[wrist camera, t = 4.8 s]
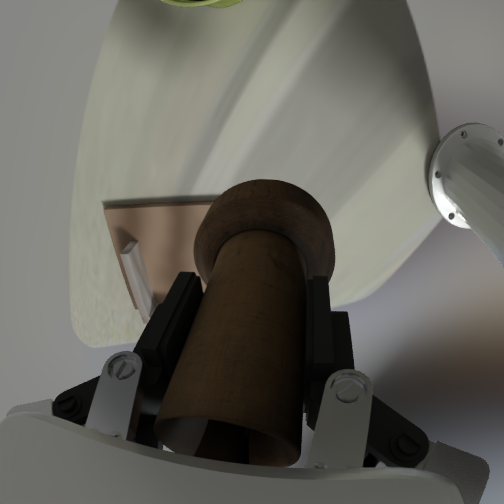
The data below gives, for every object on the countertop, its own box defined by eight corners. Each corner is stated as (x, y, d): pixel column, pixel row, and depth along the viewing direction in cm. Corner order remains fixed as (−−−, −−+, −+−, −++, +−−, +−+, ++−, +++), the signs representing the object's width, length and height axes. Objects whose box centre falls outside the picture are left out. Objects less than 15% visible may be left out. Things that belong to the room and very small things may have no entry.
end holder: (249, 200, 34) (243, 216, 30) (257, 311, 42) (253, 333, 39) (107, 206, 36) (91, 220, 33) (137, 304, 45) (127, 322, 41)
